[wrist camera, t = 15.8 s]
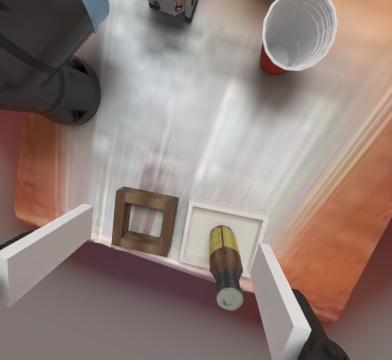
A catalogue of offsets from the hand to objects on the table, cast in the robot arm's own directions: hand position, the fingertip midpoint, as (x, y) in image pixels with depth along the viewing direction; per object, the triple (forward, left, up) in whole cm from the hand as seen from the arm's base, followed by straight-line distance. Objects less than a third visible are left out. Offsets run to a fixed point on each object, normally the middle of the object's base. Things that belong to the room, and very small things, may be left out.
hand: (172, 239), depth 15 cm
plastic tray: (+8, -15, -32) cm, 36 cm away
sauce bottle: (+8, -15, -32) cm, 36 cm away
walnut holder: (-11, -15, -32) cm, 37 cm away
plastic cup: (+11, +25, -32) cm, 42 cm away
